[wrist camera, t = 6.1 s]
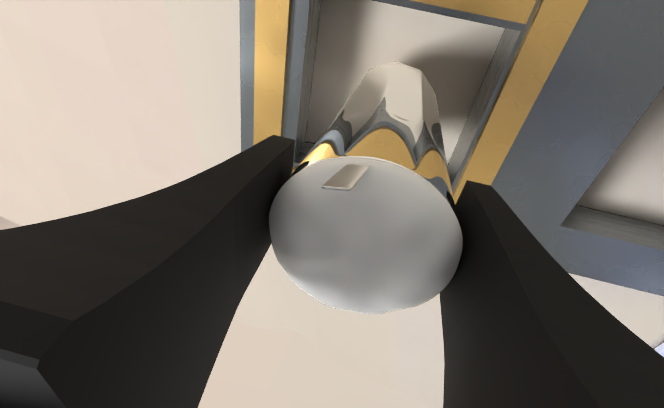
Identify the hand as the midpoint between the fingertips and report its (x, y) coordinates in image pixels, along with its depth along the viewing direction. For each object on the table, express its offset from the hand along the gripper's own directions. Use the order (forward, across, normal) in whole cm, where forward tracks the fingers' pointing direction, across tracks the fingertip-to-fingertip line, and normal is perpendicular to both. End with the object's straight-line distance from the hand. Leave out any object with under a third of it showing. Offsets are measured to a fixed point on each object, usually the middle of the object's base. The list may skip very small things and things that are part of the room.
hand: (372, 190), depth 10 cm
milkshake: (+6, 0, 0) cm, 6 cm away
